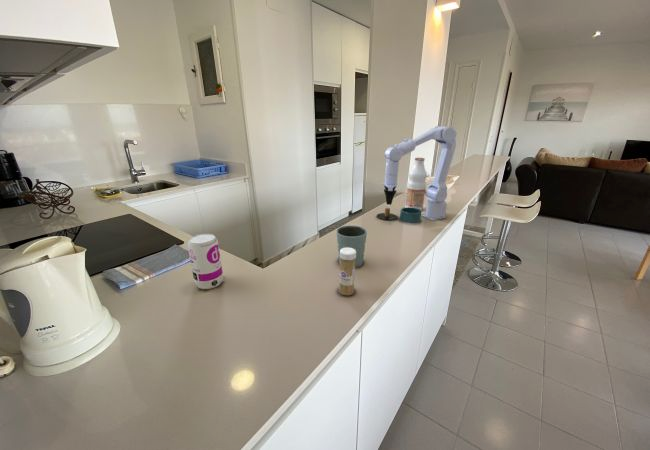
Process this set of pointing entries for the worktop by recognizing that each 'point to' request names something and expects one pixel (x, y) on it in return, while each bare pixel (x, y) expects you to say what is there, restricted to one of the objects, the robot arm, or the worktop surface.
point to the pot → (410, 215)
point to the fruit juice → (416, 185)
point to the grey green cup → (352, 241)
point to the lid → (387, 215)
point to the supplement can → (205, 261)
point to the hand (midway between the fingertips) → (388, 202)
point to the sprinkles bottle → (347, 271)
